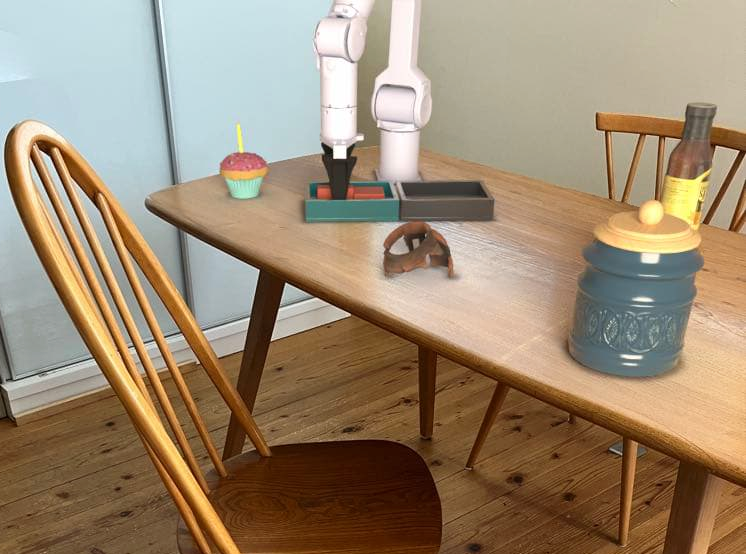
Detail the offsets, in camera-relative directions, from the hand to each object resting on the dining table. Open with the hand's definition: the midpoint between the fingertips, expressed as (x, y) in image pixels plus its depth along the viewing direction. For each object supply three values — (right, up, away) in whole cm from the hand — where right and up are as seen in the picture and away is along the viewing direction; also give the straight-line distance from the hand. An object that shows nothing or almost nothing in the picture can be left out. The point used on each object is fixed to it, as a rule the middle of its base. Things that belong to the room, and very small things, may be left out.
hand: (338, 194), depth 150 cm
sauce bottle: (+51, -13, -13) cm, 54 cm away
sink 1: (+2, -2, +2) cm, 3 cm away
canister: (+33, -36, -44) cm, 66 cm away
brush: (+2, -2, +1) cm, 3 cm away
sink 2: (+18, -2, +2) cm, 18 cm away
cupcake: (-16, +3, +9) cm, 19 cm away
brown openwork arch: (+11, -20, -22) cm, 32 cm away
